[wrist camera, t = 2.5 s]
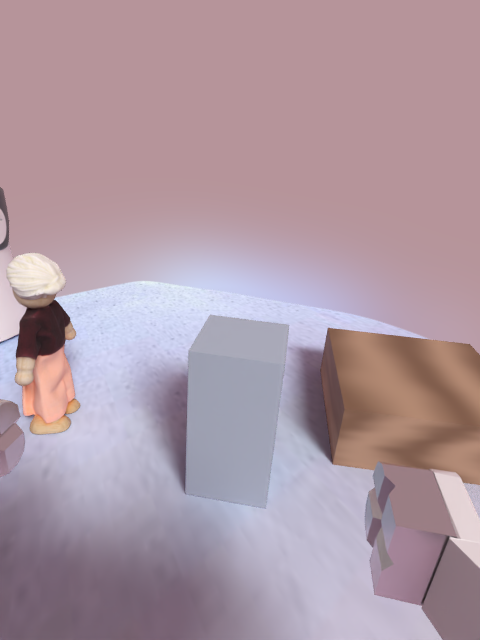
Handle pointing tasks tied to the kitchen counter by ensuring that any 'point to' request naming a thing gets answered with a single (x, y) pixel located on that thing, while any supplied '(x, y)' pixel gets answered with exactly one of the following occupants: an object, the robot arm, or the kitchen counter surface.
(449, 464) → the walnut block
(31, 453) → the kitchen counter surface
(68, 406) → the grandmother figurine
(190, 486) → the slate pillar block
